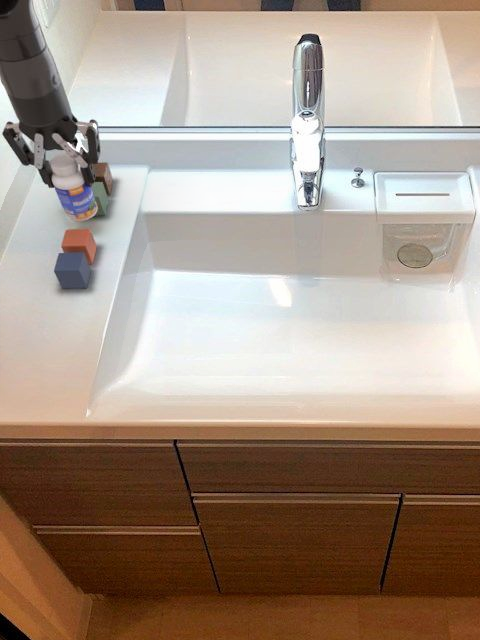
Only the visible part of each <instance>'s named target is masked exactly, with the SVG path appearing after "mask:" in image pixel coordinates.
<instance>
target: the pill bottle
mask: <svg viewBox="0 0 480 640" xmlns="http://www.w3.org/2000/svg"><path fill="white" fill-rule="evenodd" d="M49 163H50V165H51V168H52V171H53V174H52V182H53V185H54V188H53V189H54V190H55V192H56V195H57V198H58V200H59V202H60V205H61V207H62V209H63V212H64V215H65V216H66V218H68V219H69V220H71V221H74V222H83V221H88V220H90V219H91V218H93V217H95V216H94V215H95V214H96V213H97V210H98V207H97V203H96V200H95V197H94V195H93V192H92V189H91V187H87V186H86V184H85V181H84V178H83V176H82V173H81V170H80V165H79V164H78V163H77V162H76V160H75V159H74V158H71V157H70V156H69V155H68V154H67V153H66V152H63V153H62V152H61V153H59V154H57V155H55V156H53V157H52V158H51V159H50V160H49Z"/></svg>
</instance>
